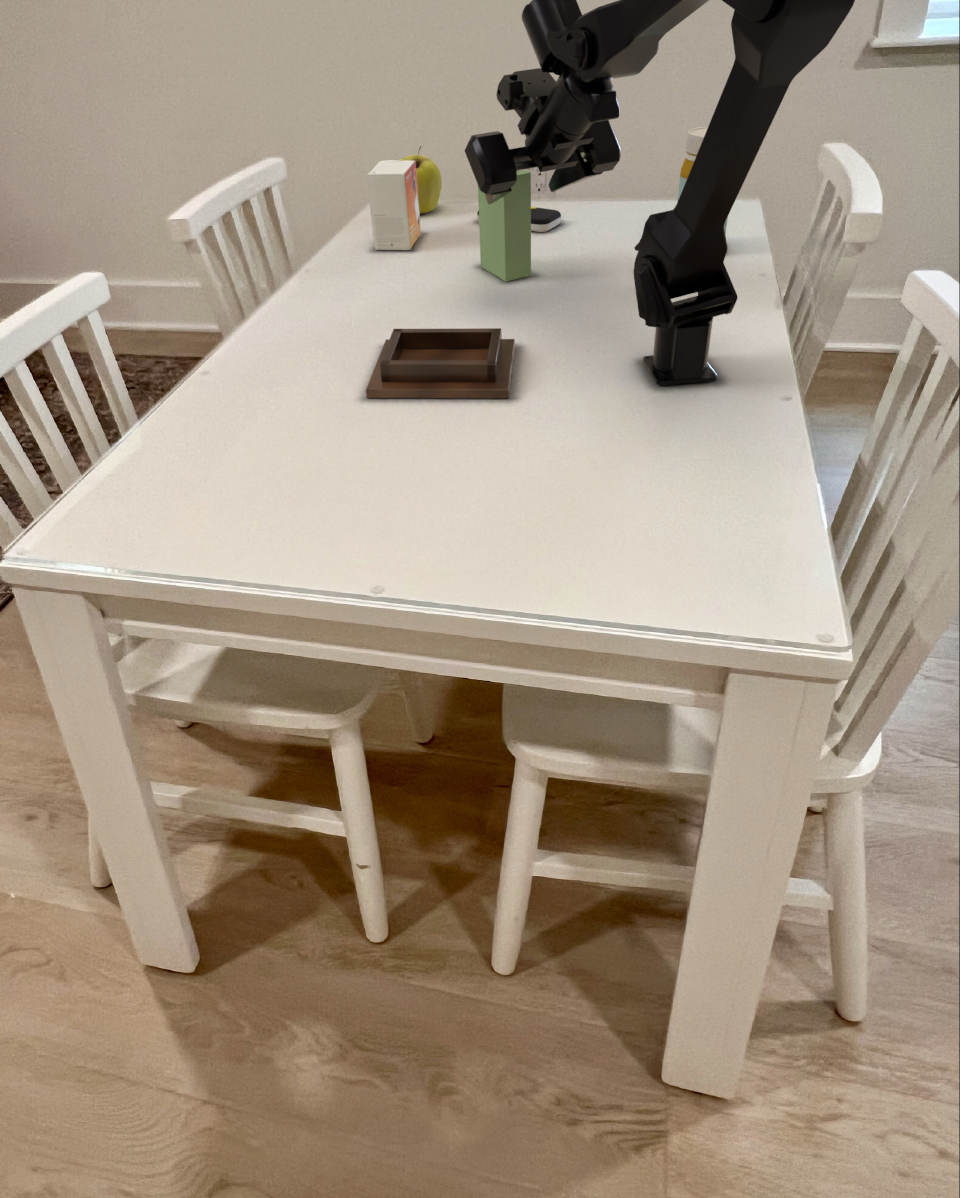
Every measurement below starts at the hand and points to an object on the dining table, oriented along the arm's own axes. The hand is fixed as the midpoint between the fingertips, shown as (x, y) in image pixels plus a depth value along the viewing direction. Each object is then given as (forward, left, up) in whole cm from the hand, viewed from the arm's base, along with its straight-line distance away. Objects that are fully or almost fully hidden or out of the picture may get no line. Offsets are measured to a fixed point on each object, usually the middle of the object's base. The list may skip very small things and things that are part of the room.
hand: (519, 194), depth 112 cm
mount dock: (-26, +12, -11) cm, 31 cm away
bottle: (+7, -27, -11) cm, 29 cm away
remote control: (+25, -4, -11) cm, 27 cm away
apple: (+35, +11, -11) cm, 38 cm away
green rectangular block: (+4, +1, -11) cm, 12 cm away
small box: (+20, +15, -11) cm, 27 cm away
